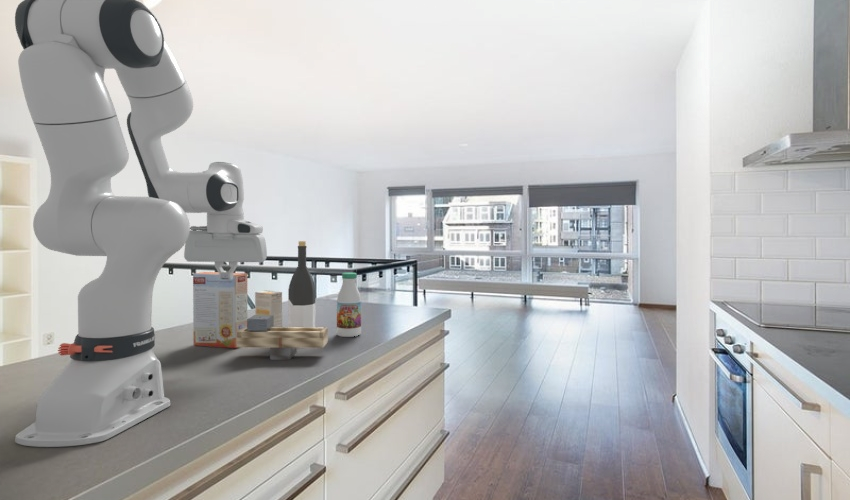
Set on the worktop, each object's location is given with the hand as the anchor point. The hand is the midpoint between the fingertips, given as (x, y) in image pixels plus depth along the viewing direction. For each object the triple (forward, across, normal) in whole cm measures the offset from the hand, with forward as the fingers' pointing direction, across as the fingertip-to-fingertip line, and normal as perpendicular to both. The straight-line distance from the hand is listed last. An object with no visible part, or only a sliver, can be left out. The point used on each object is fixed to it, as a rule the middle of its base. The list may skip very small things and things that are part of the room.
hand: (226, 279), depth 115 cm
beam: (+20, +15, 0) cm, 25 cm away
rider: (+14, +9, 0) cm, 17 cm away
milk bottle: (+21, +29, +24) cm, 43 cm away
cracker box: (+21, -6, +10) cm, 24 cm away
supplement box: (+21, +2, +28) cm, 35 cm away
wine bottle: (+21, +15, +20) cm, 32 cm away
